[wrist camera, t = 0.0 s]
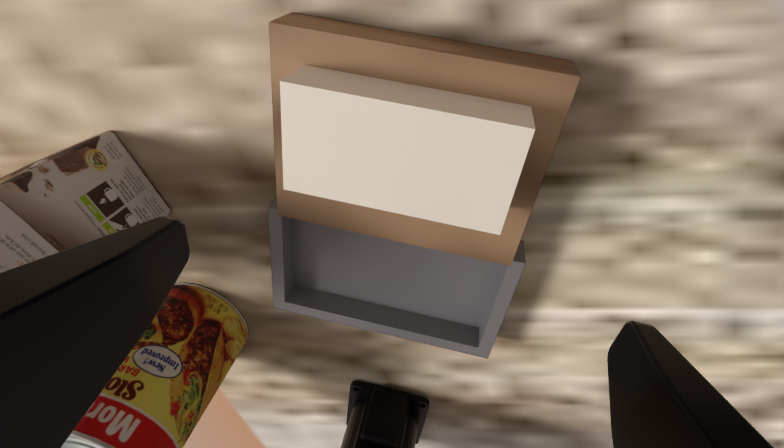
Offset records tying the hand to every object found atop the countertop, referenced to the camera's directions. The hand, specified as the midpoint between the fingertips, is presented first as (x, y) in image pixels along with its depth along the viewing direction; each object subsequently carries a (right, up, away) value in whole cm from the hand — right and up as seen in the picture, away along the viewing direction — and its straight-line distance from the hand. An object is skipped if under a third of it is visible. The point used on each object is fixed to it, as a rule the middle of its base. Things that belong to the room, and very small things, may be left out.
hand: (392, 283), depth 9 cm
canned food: (-15, -6, +27) cm, 31 cm away
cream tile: (+1, +5, +11) cm, 12 cm away
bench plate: (+1, +6, +14) cm, 15 cm away
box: (0, -1, +19) cm, 19 cm away
